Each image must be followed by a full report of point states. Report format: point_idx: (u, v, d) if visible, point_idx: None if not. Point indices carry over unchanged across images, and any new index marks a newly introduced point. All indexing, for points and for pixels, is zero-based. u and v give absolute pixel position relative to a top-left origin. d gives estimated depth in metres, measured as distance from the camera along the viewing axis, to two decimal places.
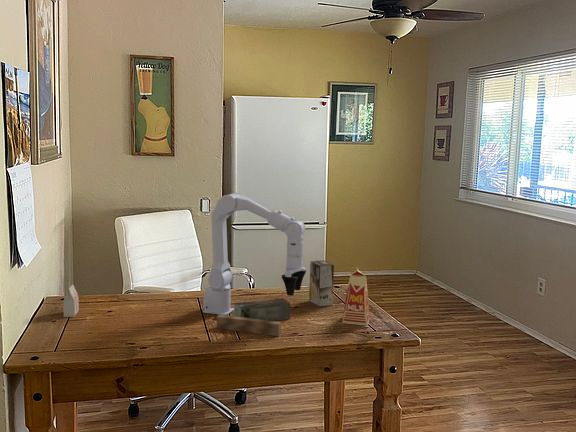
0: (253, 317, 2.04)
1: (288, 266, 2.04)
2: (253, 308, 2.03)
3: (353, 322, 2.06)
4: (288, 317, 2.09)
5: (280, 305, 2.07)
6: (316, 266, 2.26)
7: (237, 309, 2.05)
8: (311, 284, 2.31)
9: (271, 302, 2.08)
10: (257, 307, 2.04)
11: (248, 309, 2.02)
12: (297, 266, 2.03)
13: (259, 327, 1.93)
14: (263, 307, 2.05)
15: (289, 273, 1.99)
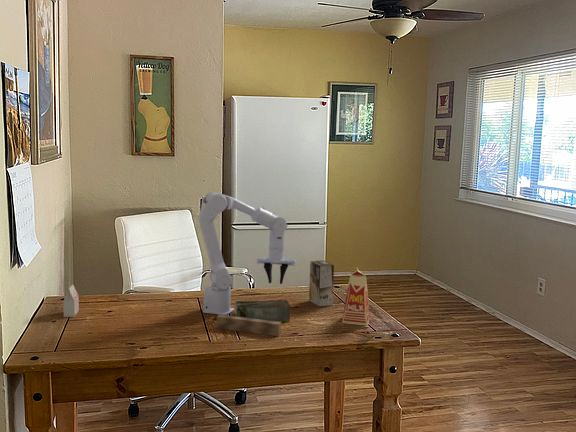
0: (250, 316, 2.04)
1: None
2: (250, 307, 2.04)
3: (353, 322, 2.06)
4: (287, 319, 2.06)
5: (278, 307, 2.05)
6: (316, 266, 2.26)
7: None
8: (311, 284, 2.31)
9: (271, 303, 2.07)
10: (254, 307, 2.04)
11: (244, 308, 2.04)
12: (269, 257, 2.19)
13: (259, 327, 1.93)
14: (260, 307, 2.04)
15: (257, 260, 2.21)
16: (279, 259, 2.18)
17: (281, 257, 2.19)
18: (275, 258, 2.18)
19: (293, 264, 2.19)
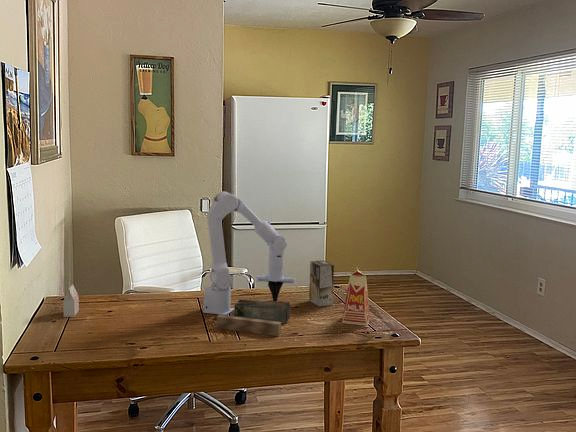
0: (247, 315, 2.05)
1: None
2: (247, 306, 2.05)
3: (353, 322, 2.06)
4: (284, 322, 2.04)
5: (275, 308, 2.04)
6: (316, 266, 2.26)
7: None
8: (311, 284, 2.31)
9: (270, 304, 2.06)
10: (251, 306, 2.05)
11: (242, 307, 2.05)
12: (269, 276, 2.20)
13: (259, 327, 1.93)
14: (257, 307, 2.04)
15: None
16: (279, 277, 2.19)
17: (281, 275, 2.20)
18: (275, 276, 2.19)
19: (292, 282, 2.20)
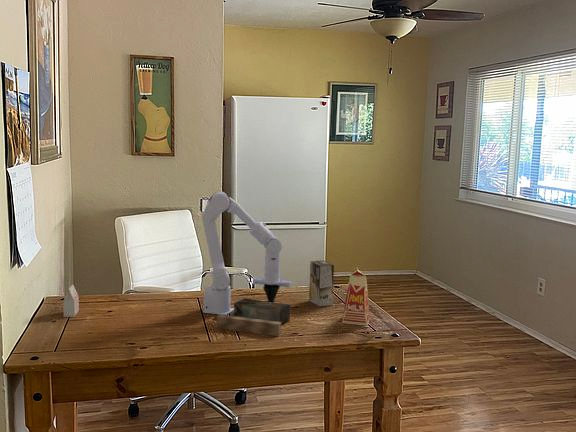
0: (245, 314, 2.07)
1: None
2: (245, 305, 2.06)
3: (353, 322, 2.06)
4: None
5: (270, 309, 2.02)
6: (316, 266, 2.26)
7: None
8: (311, 284, 2.31)
9: (267, 305, 2.05)
10: (249, 305, 2.06)
11: (240, 305, 2.07)
12: (264, 278, 2.16)
13: (259, 327, 1.93)
14: (254, 307, 2.05)
15: None
16: (274, 280, 2.15)
17: (276, 278, 2.15)
18: (270, 279, 2.14)
19: (288, 286, 2.15)
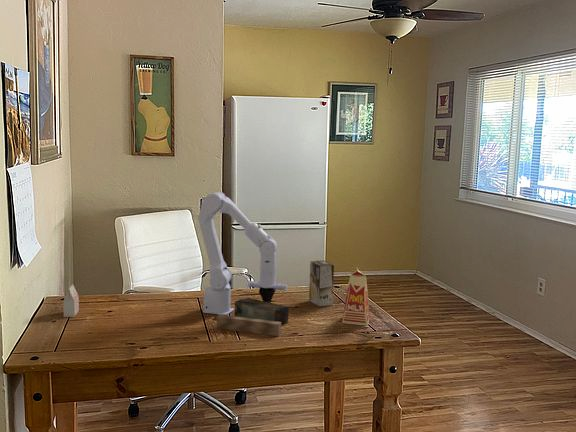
0: (244, 313, 2.08)
1: None
2: (244, 304, 2.07)
3: (353, 322, 2.06)
4: None
5: (266, 310, 2.01)
6: (316, 266, 2.26)
7: None
8: (311, 284, 2.31)
9: (265, 305, 2.04)
10: (247, 305, 2.06)
11: (240, 304, 2.08)
12: (260, 282, 2.11)
13: (259, 327, 1.93)
14: (252, 306, 2.05)
15: None
16: (269, 284, 2.10)
17: (272, 282, 2.10)
18: (265, 282, 2.10)
19: (284, 289, 2.10)
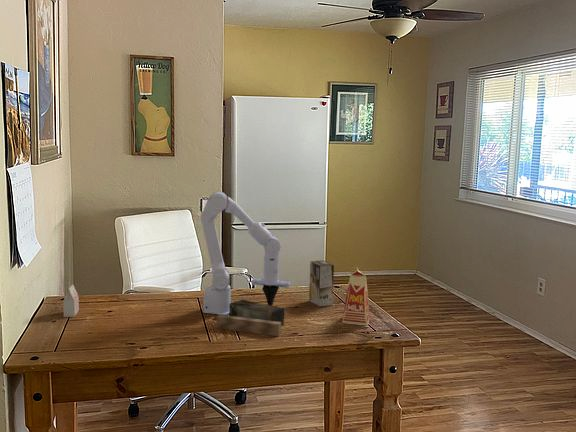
0: (239, 316, 2.05)
1: None
2: (239, 307, 2.04)
3: (353, 322, 2.06)
4: None
5: (262, 312, 1.99)
6: (316, 266, 2.26)
7: None
8: (311, 284, 2.30)
9: (261, 307, 2.02)
10: (242, 307, 2.04)
11: (235, 306, 2.05)
12: (263, 279, 2.15)
13: (259, 327, 1.93)
14: (247, 308, 2.02)
15: None
16: (273, 281, 2.13)
17: (275, 279, 2.14)
18: (269, 280, 2.13)
19: (287, 287, 2.13)
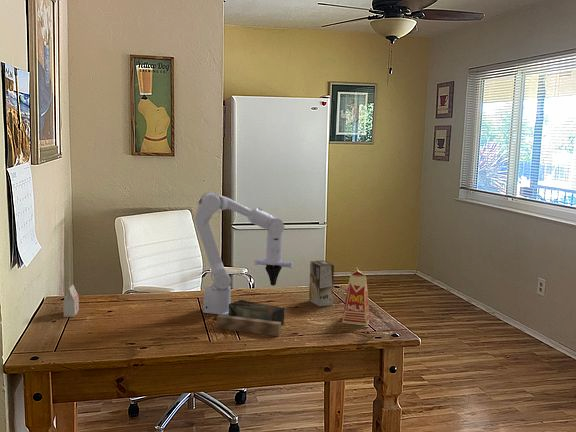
0: (239, 316, 2.05)
1: None
2: (239, 307, 2.04)
3: (353, 322, 2.06)
4: None
5: (263, 312, 1.99)
6: (316, 266, 2.26)
7: None
8: (311, 284, 2.31)
9: (261, 307, 2.02)
10: (242, 307, 2.03)
11: (234, 306, 2.05)
12: (266, 259, 2.17)
13: (259, 327, 1.93)
14: (247, 309, 2.02)
15: None
16: (276, 261, 2.15)
17: (278, 259, 2.16)
18: (272, 260, 2.15)
19: (290, 266, 2.15)
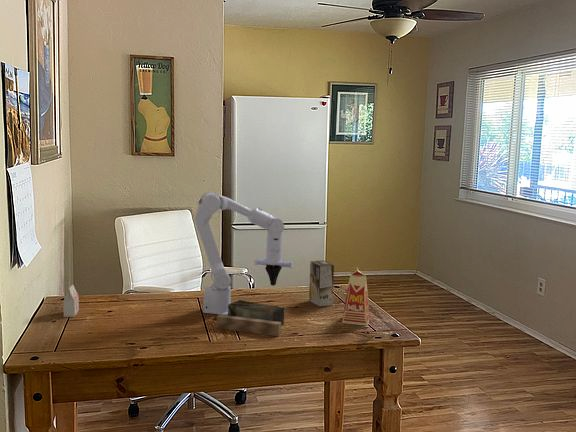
0: (239, 316, 2.04)
1: None
2: (238, 307, 2.04)
3: (353, 322, 2.06)
4: None
5: (263, 312, 1.99)
6: (316, 266, 2.26)
7: None
8: (311, 284, 2.31)
9: (261, 307, 2.02)
10: (242, 307, 2.03)
11: (234, 307, 2.04)
12: (266, 259, 2.17)
13: (259, 327, 1.93)
14: (247, 309, 2.02)
15: None
16: (276, 261, 2.15)
17: (278, 259, 2.16)
18: (272, 260, 2.15)
19: (290, 266, 2.15)
